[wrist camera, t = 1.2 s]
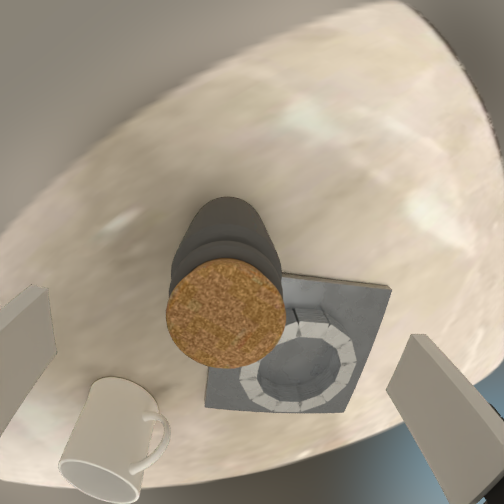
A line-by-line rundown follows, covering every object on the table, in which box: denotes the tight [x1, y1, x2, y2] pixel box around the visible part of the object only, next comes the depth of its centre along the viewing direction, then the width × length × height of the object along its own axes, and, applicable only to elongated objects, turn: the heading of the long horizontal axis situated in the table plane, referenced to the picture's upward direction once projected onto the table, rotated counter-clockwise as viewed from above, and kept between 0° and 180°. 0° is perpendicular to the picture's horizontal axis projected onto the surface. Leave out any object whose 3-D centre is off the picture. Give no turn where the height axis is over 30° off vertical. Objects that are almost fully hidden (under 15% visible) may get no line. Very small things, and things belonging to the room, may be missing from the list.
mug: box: [58, 377, 171, 504], centre depth 26 cm, size 12×8×12 cm
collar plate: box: [205, 273, 392, 413], centre depth 29 cm, size 16×16×4 cm
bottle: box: [166, 197, 286, 369], centre depth 19 cm, size 6×6×15 cm
